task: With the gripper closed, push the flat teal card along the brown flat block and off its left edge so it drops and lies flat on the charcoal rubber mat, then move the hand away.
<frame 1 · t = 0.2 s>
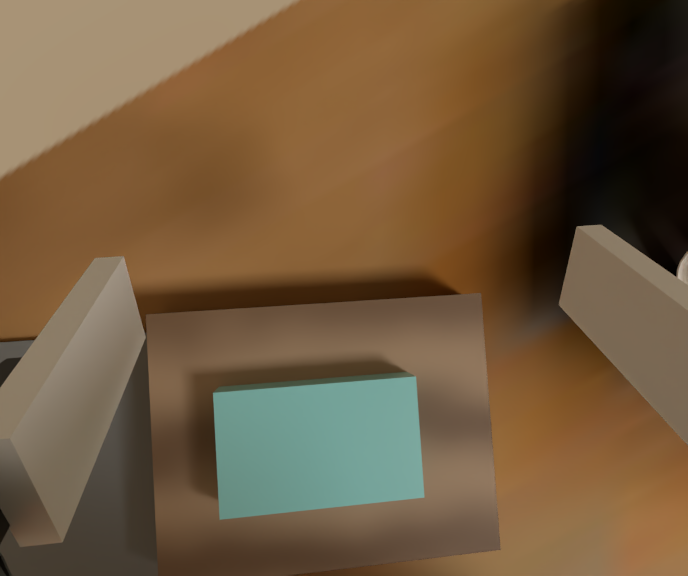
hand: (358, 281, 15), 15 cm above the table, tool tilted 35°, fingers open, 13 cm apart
mat: (37, 466, 27), on the table
brown flat block: (324, 422, 29), on the table
card: (319, 440, 25), point 4 cm above the table, touching brown flat block
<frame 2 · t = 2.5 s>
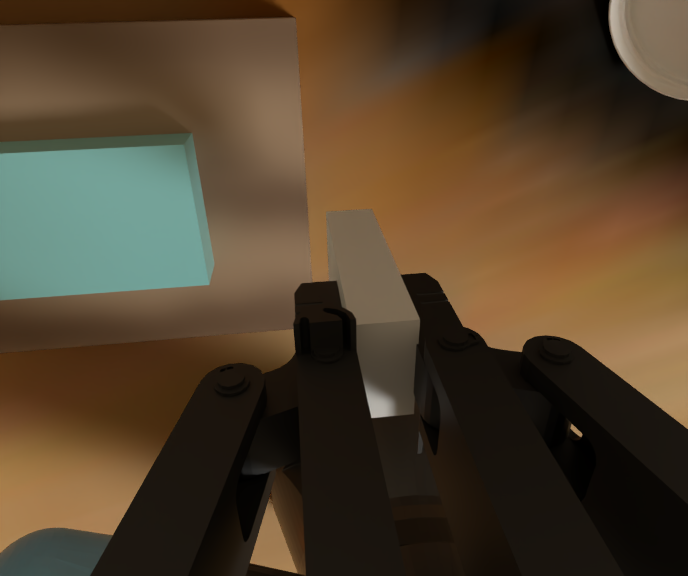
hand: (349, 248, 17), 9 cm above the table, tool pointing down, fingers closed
brown flat block: (117, 187, 24), on the table
card: (77, 218, 20), point 4 cm above the table, touching brown flat block
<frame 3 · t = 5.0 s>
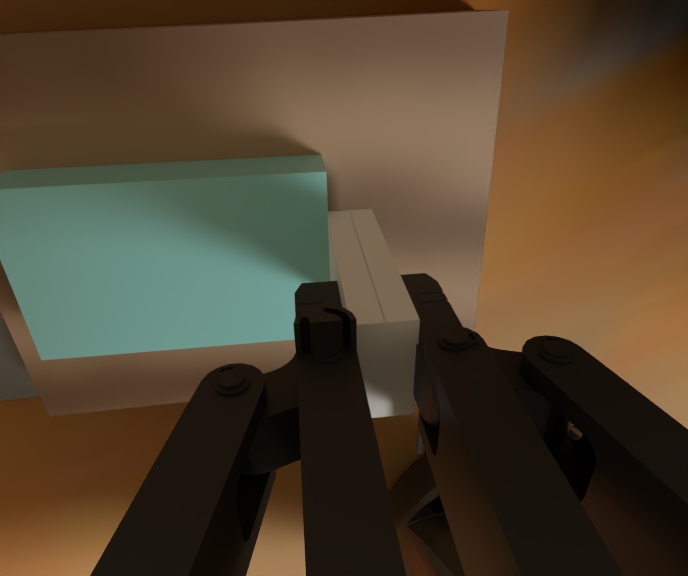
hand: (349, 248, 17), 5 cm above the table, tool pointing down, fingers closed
brown flat block: (247, 215, 20), on the table
card: (179, 258, 17), point 4 cm above the table, touching gripper
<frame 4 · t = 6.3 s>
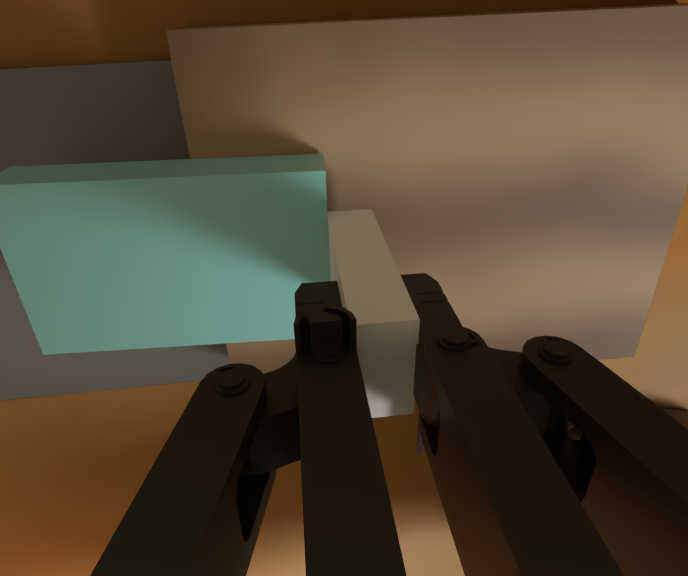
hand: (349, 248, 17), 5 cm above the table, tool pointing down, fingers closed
mat: (49, 254, 20), on the table
brown flat block: (431, 202, 21), on the table
card: (180, 256, 17), point 4 cm above the table, touching gripper
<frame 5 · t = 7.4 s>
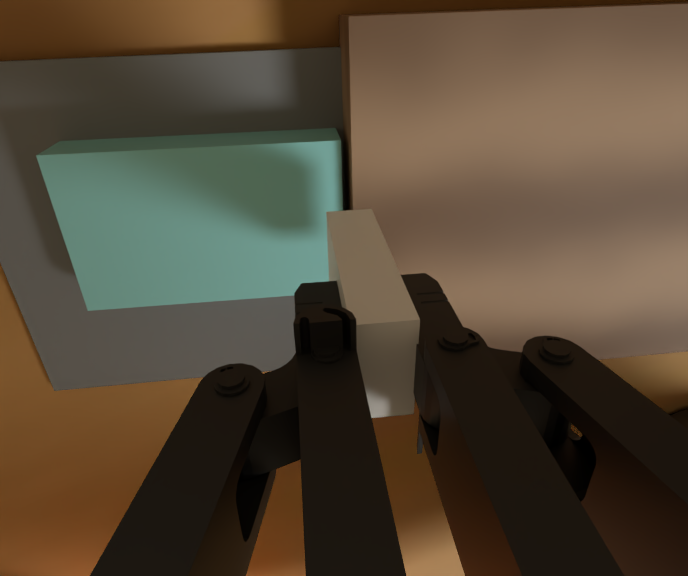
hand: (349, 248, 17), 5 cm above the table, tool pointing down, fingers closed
mat: (178, 240, 21), on the table
brown flat block: (551, 192, 21), on the table
card: (210, 220, 19), point 1 cm above the table, touching mat
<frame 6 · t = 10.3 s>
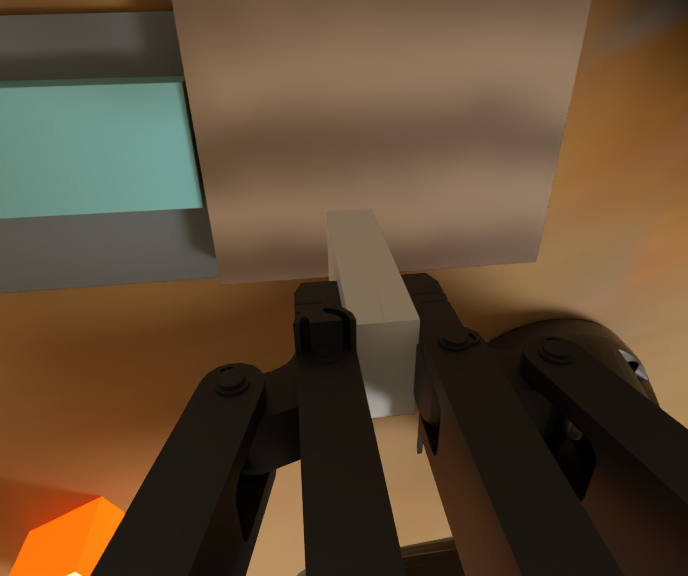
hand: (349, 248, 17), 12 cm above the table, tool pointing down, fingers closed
orange juice: (103, 537, 42), on the table
mat: (73, 167, 26), on the table
brown flat block: (376, 133, 27), on the table
card: (91, 147, 24), point 1 cm above the table, touching mat
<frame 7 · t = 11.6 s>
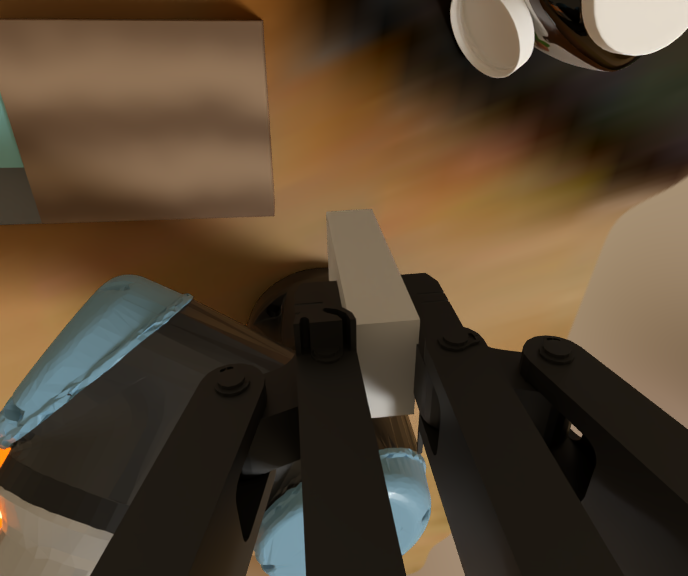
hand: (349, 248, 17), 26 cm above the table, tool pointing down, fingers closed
brown flat block: (153, 121, 39), on the table
spread jar: (527, 6, 38), on the table
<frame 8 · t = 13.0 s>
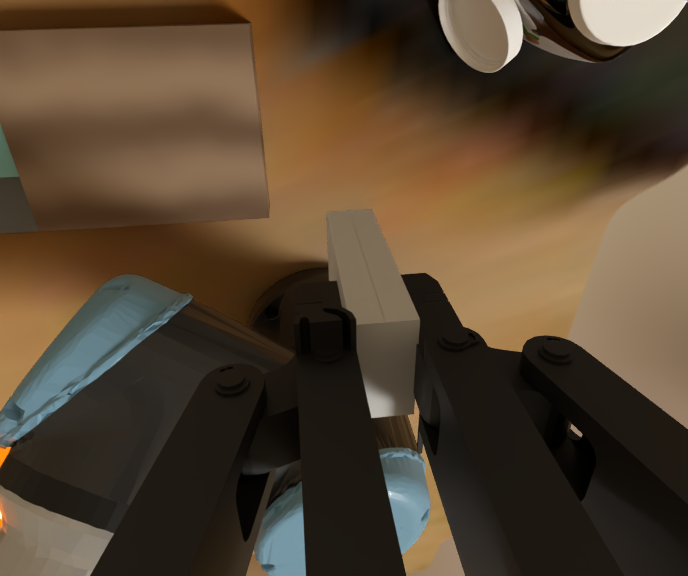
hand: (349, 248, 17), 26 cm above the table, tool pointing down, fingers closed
brown flat block: (145, 127, 39), on the table
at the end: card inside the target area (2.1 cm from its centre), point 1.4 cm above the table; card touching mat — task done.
